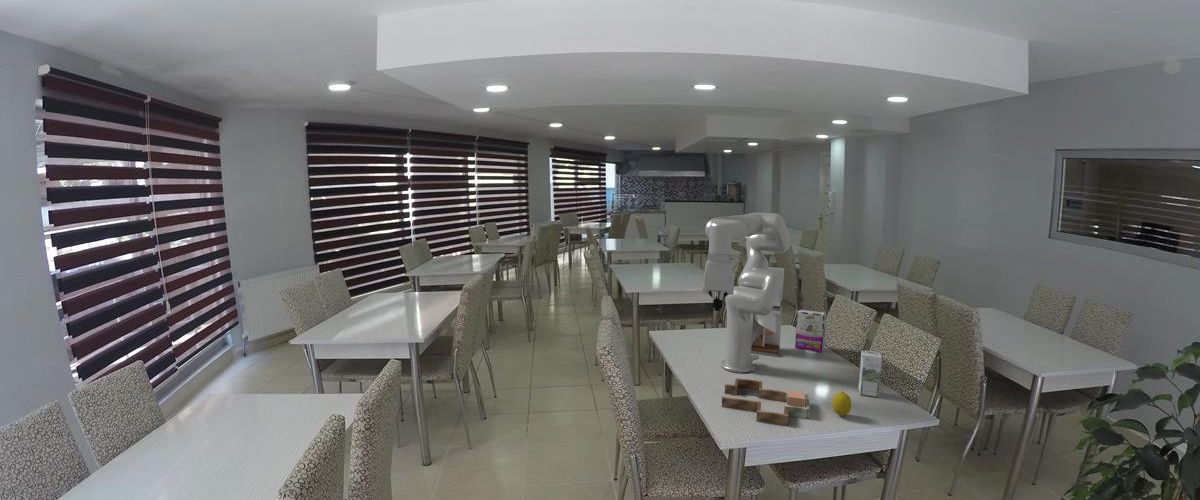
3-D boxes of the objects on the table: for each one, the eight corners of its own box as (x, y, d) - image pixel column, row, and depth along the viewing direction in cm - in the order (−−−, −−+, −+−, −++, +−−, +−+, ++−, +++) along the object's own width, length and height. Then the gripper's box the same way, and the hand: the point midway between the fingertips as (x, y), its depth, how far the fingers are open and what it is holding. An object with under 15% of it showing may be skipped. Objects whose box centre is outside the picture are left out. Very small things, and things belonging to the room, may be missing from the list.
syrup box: (875, 391, 190) (879, 351, 188) (878, 398, 185) (882, 356, 183) (857, 389, 192) (861, 349, 190) (859, 395, 187) (863, 354, 185)
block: (786, 411, 174) (787, 396, 173) (786, 405, 178) (787, 390, 178) (803, 414, 172) (804, 399, 172) (803, 407, 177) (804, 392, 176)
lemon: (827, 412, 173) (829, 388, 172) (844, 412, 174) (846, 387, 173) (836, 420, 168) (838, 395, 167) (853, 419, 168) (856, 395, 167)
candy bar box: (824, 350, 234) (827, 312, 232) (822, 353, 230) (824, 315, 228) (797, 345, 240) (799, 308, 238) (794, 348, 236) (796, 311, 234)
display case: (748, 353, 229) (752, 270, 224) (751, 345, 239) (756, 266, 234) (777, 357, 225) (782, 272, 220) (779, 349, 234) (784, 268, 229)
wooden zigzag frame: (719, 415, 170) (719, 406, 170) (726, 384, 195) (727, 376, 194) (810, 428, 162) (811, 419, 162) (806, 395, 187) (807, 386, 186)
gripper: (742, 257, 190) (740, 309, 192) (699, 255, 194) (697, 305, 197) (741, 261, 183) (738, 314, 185) (696, 258, 187) (694, 310, 190)
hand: (717, 310), depth 191 cm, fingers closed
